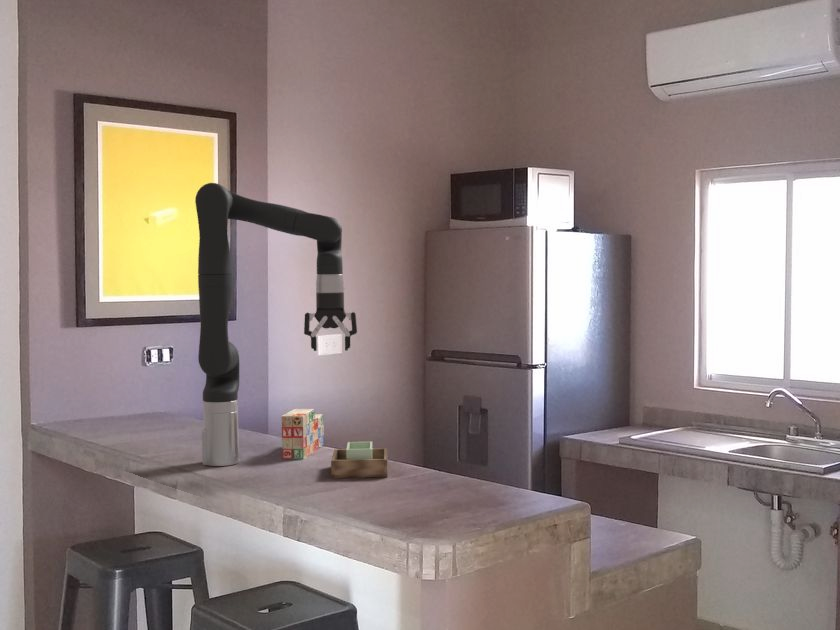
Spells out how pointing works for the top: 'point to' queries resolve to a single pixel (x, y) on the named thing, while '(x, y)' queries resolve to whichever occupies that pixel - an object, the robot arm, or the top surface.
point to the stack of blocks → (301, 433)
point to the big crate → (359, 465)
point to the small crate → (359, 450)
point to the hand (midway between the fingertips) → (330, 350)
